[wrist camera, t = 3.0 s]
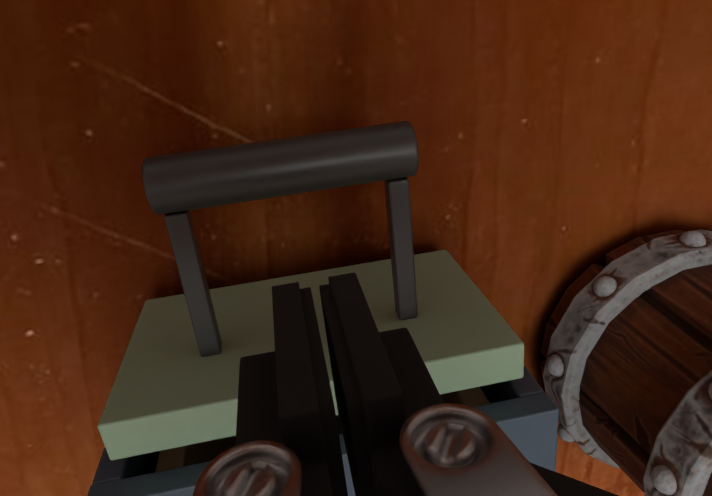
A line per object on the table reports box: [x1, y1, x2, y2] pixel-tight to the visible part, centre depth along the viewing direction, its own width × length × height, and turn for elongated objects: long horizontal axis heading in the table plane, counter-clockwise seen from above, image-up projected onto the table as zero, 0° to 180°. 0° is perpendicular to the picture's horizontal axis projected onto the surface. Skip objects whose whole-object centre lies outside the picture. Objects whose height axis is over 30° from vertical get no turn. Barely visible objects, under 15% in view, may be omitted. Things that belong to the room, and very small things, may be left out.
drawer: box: [98, 121, 524, 472], centre depth 19 cm, size 19×11×7 cm, turn 6°
